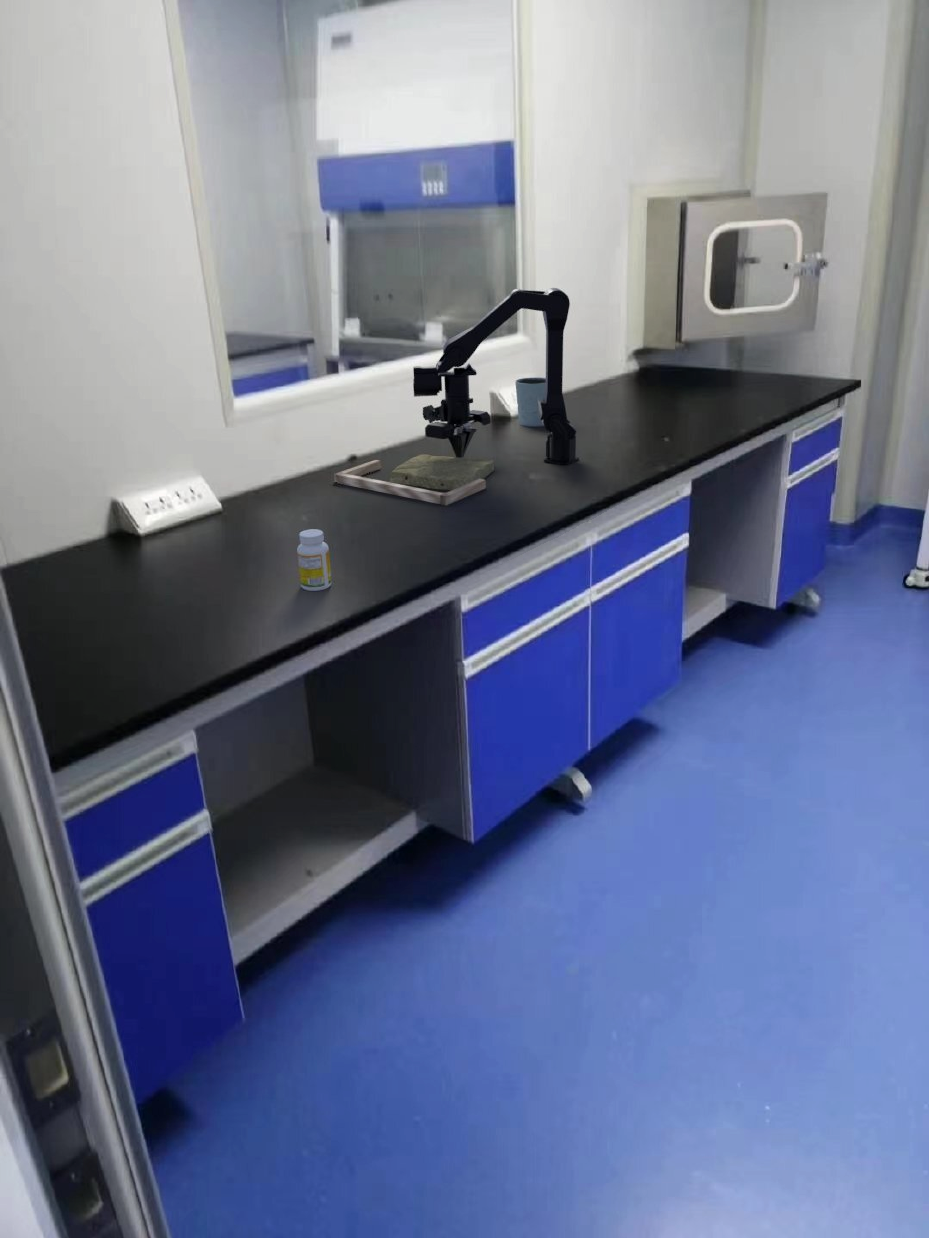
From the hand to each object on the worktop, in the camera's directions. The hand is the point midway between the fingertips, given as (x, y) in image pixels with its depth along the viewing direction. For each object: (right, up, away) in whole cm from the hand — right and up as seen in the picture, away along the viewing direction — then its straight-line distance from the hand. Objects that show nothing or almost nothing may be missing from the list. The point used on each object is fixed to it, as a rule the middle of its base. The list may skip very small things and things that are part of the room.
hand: (459, 459), depth 227 cm
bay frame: (-12, -8, -13) cm, 19 cm away
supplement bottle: (-24, -33, -65) cm, 77 cm away
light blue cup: (+21, +17, +39) cm, 47 cm away
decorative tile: (-4, -6, -8) cm, 11 cm away
